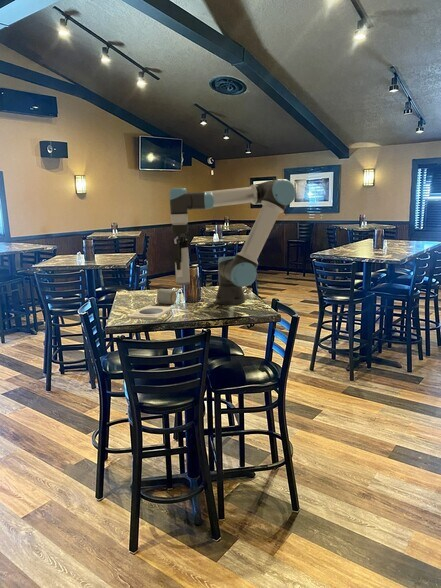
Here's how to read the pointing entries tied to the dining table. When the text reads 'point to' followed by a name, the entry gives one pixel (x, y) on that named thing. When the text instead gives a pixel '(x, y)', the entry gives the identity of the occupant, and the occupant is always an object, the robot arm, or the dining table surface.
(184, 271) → the travel mug
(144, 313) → the beige plate with hole
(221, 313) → the dining table surface
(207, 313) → the dining table surface
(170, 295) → the ceramic mug
